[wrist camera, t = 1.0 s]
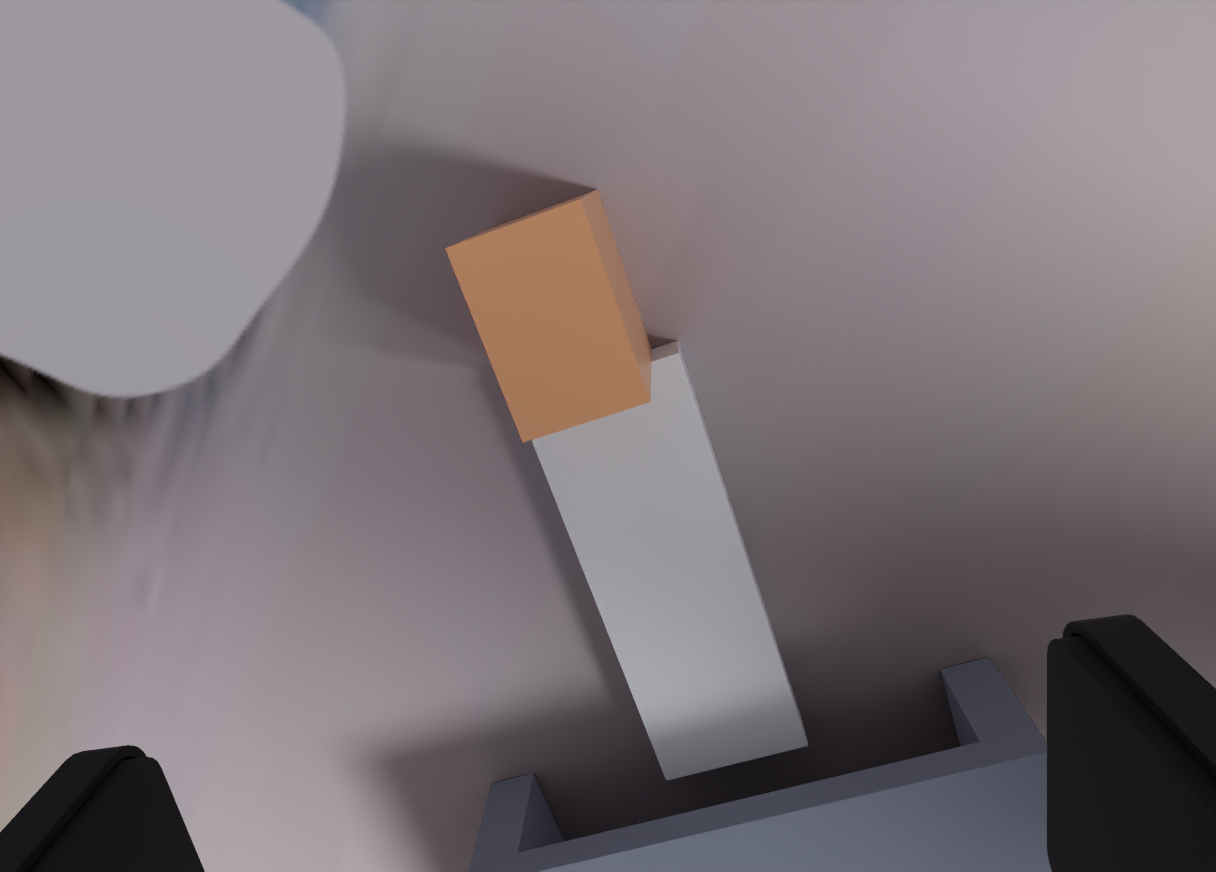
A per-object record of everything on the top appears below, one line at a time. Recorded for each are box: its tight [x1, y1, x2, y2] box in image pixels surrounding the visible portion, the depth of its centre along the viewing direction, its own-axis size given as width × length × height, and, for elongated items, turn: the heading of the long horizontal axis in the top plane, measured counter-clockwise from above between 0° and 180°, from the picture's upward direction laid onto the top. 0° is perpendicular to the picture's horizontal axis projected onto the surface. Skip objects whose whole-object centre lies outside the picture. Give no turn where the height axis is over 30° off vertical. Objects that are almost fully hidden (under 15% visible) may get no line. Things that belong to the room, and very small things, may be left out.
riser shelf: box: [469, 657, 1052, 872], centre depth 34 cm, size 22×10×6 cm, turn 109°
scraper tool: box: [445, 189, 809, 781], centre depth 29 cm, size 6×23×7 cm, turn 19°
